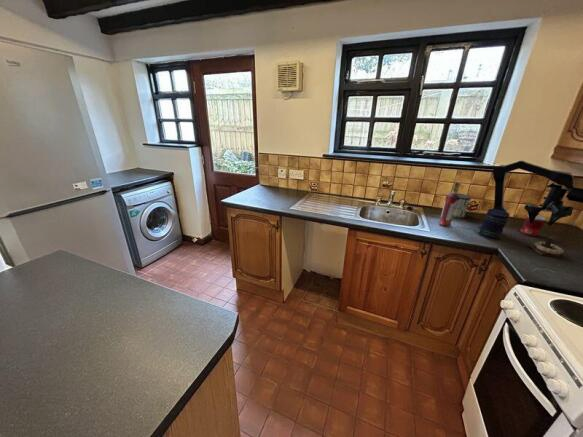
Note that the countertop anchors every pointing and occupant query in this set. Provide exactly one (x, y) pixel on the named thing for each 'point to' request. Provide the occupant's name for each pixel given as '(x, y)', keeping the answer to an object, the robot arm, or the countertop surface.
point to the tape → (556, 248)
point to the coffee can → (462, 205)
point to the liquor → (450, 206)
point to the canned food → (532, 226)
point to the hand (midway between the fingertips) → (539, 224)
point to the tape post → (547, 244)
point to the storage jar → (494, 224)
